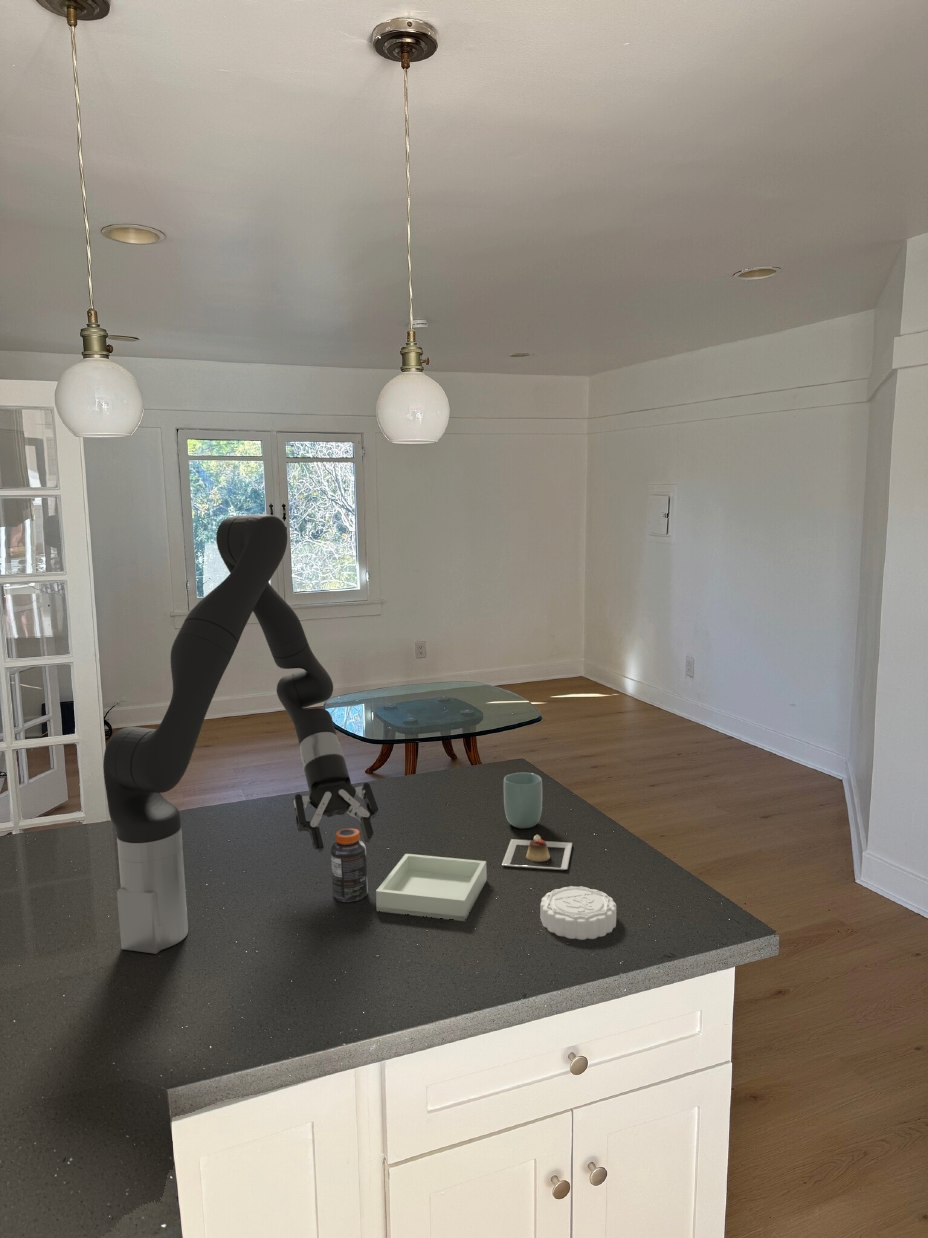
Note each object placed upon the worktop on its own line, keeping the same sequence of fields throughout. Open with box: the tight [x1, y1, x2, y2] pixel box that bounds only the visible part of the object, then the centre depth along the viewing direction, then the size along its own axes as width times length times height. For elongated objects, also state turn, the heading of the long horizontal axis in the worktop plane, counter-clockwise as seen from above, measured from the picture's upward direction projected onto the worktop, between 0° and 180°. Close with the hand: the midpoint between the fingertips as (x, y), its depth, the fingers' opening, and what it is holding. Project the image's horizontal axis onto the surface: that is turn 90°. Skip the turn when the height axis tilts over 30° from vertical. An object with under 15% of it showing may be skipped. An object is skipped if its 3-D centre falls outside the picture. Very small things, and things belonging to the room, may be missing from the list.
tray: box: [375, 853, 488, 922], centre depth 141 cm, size 15×15×4 cm
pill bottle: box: [330, 827, 369, 903], centre depth 141 cm, size 6×6×11 cm
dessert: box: [501, 834, 573, 871], centre depth 156 cm, size 12×12×5 cm
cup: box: [503, 771, 543, 829], centre depth 171 cm, size 8×8×10 cm
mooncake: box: [539, 885, 617, 941], centre depth 132 cm, size 12×12×4 cm
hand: (345, 845), depth 143 cm, fingers open, 8 cm apart
